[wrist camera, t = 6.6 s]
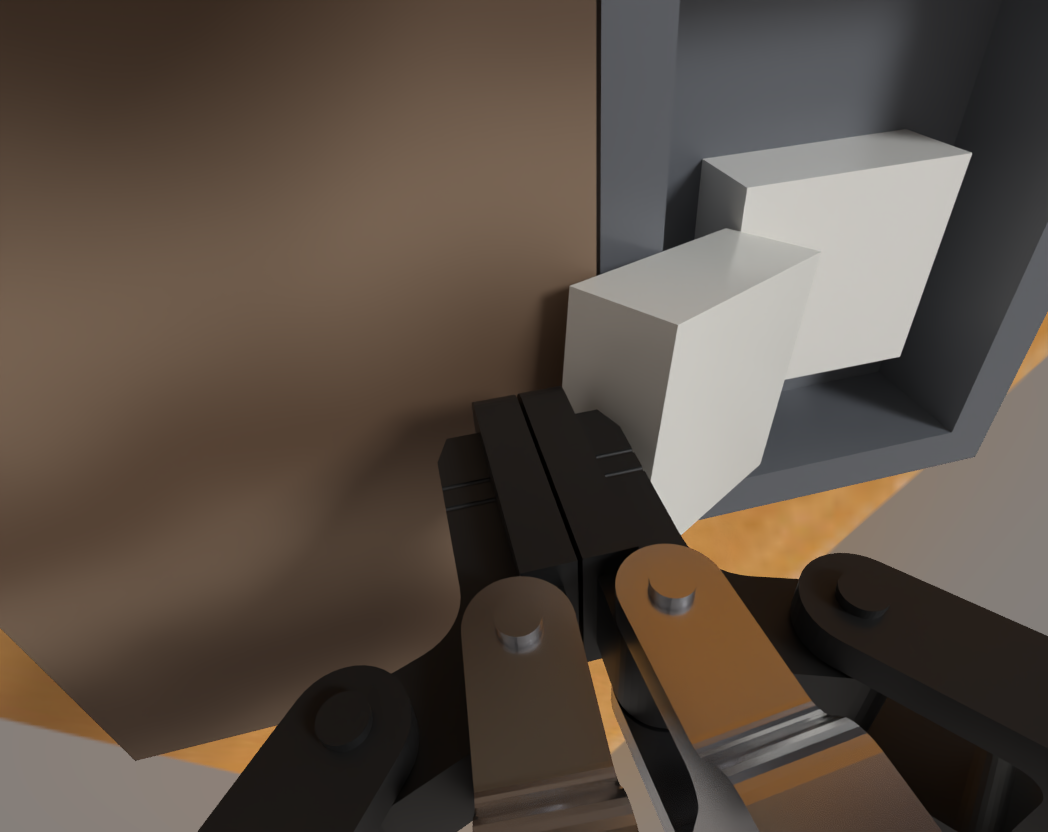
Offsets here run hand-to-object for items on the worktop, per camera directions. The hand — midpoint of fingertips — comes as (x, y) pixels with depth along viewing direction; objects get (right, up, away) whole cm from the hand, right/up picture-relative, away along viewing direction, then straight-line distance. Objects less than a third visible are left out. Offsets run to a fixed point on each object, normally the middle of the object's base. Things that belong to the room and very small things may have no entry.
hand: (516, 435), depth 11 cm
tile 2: (+7, +3, +3) cm, 9 cm away
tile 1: (+2, +1, +2) cm, 3 cm away
